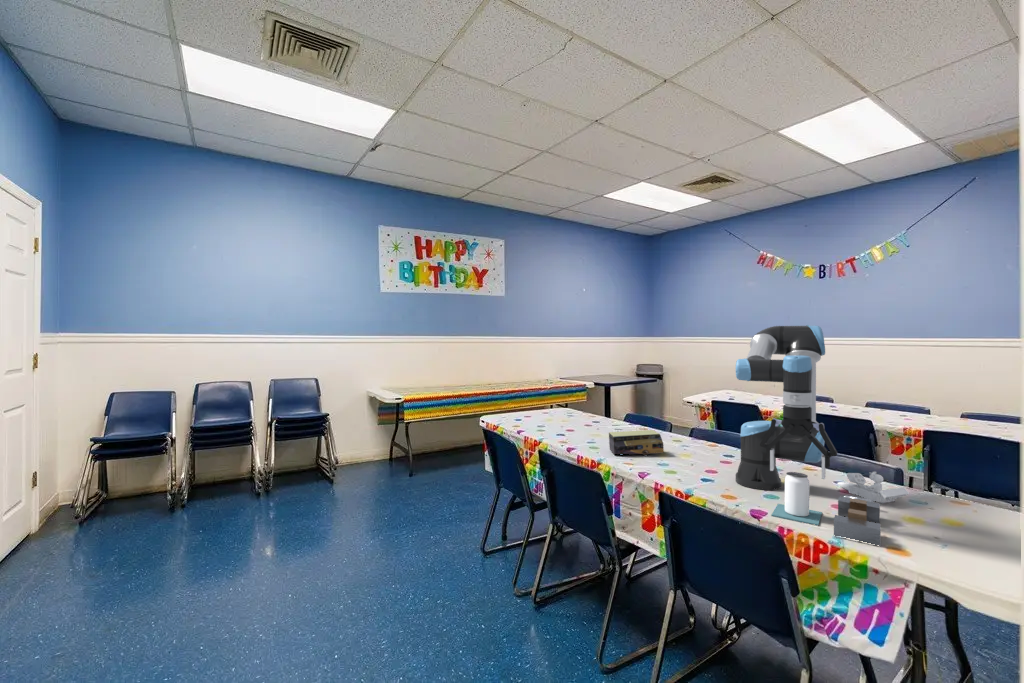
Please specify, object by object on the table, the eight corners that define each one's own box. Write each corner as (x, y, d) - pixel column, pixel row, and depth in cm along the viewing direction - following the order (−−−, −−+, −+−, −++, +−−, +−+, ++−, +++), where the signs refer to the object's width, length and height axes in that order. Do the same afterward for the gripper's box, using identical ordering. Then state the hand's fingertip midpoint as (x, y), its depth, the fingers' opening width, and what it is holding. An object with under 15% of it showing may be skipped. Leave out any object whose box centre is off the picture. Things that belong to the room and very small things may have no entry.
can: (779, 510, 143) (779, 472, 143) (794, 508, 146) (794, 470, 146) (799, 518, 137) (799, 478, 137) (814, 515, 140) (814, 476, 139)
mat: (777, 504, 150) (777, 503, 150) (822, 513, 142) (822, 512, 142) (771, 515, 140) (771, 514, 140) (818, 525, 133) (818, 524, 133)
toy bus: (664, 455, 212) (663, 433, 212) (614, 458, 212) (613, 436, 212) (656, 450, 222) (656, 429, 222) (609, 452, 222) (608, 432, 222)
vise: (840, 503, 151) (840, 485, 151) (879, 510, 145) (879, 491, 145) (833, 536, 126) (833, 514, 126) (880, 546, 119) (880, 524, 119)
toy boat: (849, 485, 170) (849, 461, 170) (910, 504, 151) (910, 477, 151) (826, 488, 166) (826, 464, 166) (886, 507, 147) (886, 480, 147)
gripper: (749, 403, 146) (750, 469, 146) (846, 411, 130) (846, 484, 131) (754, 400, 152) (754, 463, 152) (847, 407, 136) (847, 478, 137)
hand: (797, 473), depth 142 cm, fingers open, 13 cm apart
